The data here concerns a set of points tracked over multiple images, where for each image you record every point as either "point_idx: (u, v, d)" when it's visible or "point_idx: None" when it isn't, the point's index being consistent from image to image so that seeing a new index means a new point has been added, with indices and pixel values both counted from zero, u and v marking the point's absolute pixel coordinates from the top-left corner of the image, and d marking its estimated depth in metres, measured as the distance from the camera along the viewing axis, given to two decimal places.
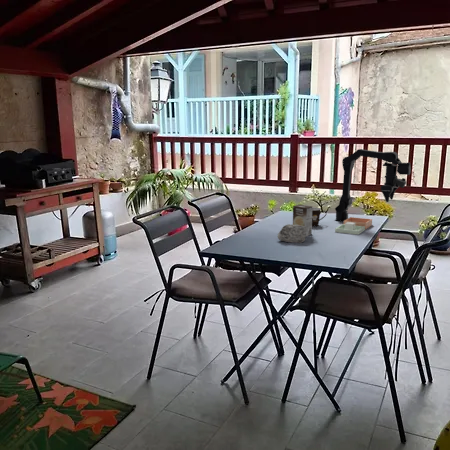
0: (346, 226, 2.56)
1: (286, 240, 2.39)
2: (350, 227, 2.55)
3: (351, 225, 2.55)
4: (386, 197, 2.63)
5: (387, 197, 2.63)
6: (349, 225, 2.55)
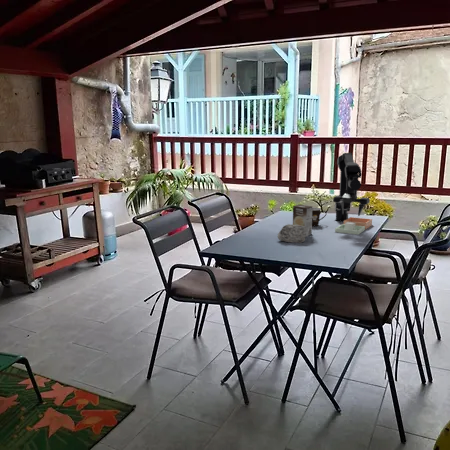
0: (346, 226, 2.56)
1: (286, 240, 2.39)
2: (350, 227, 2.55)
3: (351, 225, 2.55)
4: None
5: None
6: (349, 225, 2.55)
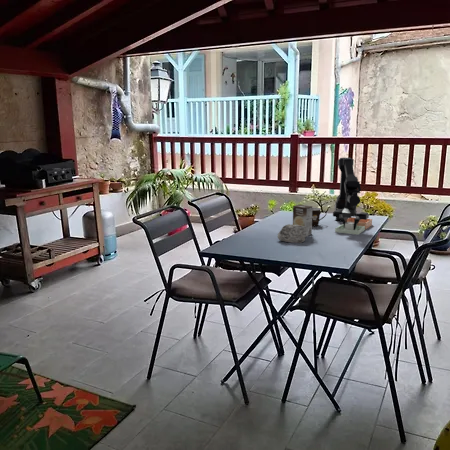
0: (346, 226, 2.56)
1: (286, 240, 2.39)
2: (350, 227, 2.55)
3: (351, 225, 2.55)
4: None
5: None
6: (349, 225, 2.55)
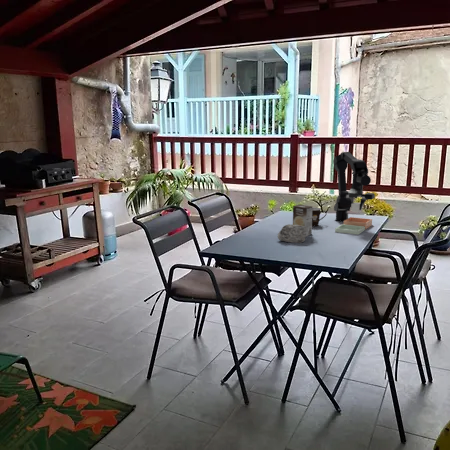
0: (352, 206, 2.63)
1: (286, 240, 2.39)
2: (356, 207, 2.62)
3: (357, 205, 2.61)
4: None
5: None
6: (355, 205, 2.62)
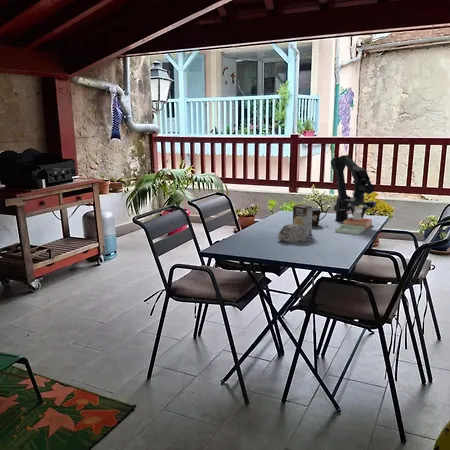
0: (354, 214, 2.67)
1: (286, 240, 2.39)
2: (358, 215, 2.66)
3: (359, 213, 2.65)
4: None
5: None
6: (357, 213, 2.66)
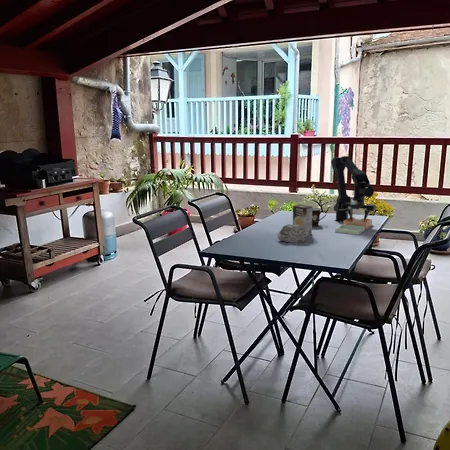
0: (354, 221, 2.68)
1: (286, 240, 2.39)
2: None
3: (359, 220, 2.66)
4: None
5: None
6: (357, 220, 2.67)
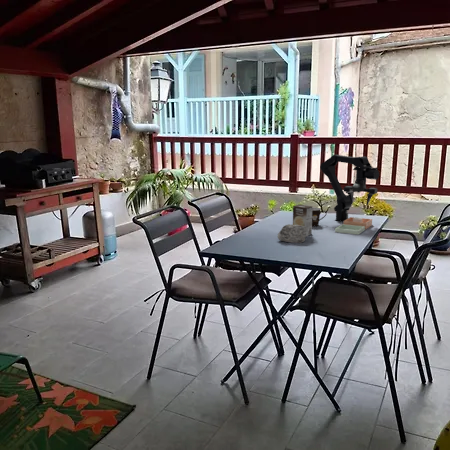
0: (354, 221, 2.68)
1: (286, 240, 2.39)
2: None
3: (359, 220, 2.66)
4: None
5: None
6: (357, 220, 2.67)
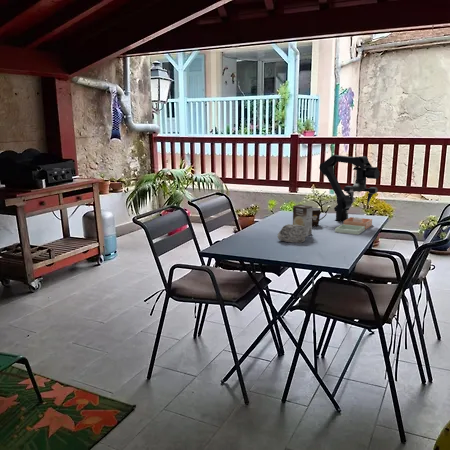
0: (354, 221, 2.68)
1: (286, 240, 2.39)
2: None
3: (359, 220, 2.66)
4: None
5: None
6: (357, 220, 2.67)
